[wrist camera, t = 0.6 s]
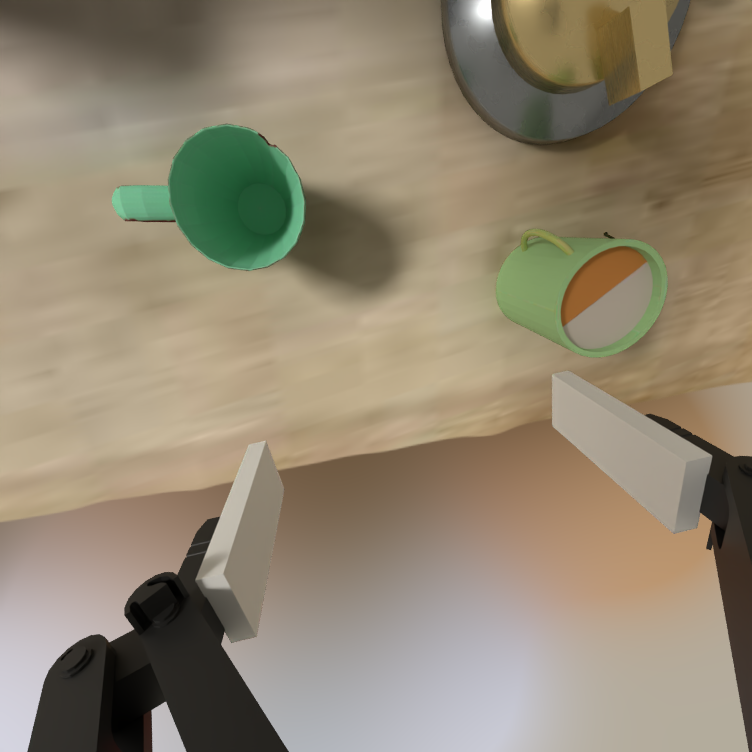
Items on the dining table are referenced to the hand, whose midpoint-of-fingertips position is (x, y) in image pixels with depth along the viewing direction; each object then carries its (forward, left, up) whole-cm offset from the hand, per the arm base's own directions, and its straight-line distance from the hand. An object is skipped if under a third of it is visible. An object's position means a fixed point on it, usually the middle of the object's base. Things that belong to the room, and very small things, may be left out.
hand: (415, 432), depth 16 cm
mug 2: (+5, +19, -27) cm, 33 cm away
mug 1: (-15, -7, -27) cm, 31 cm away
